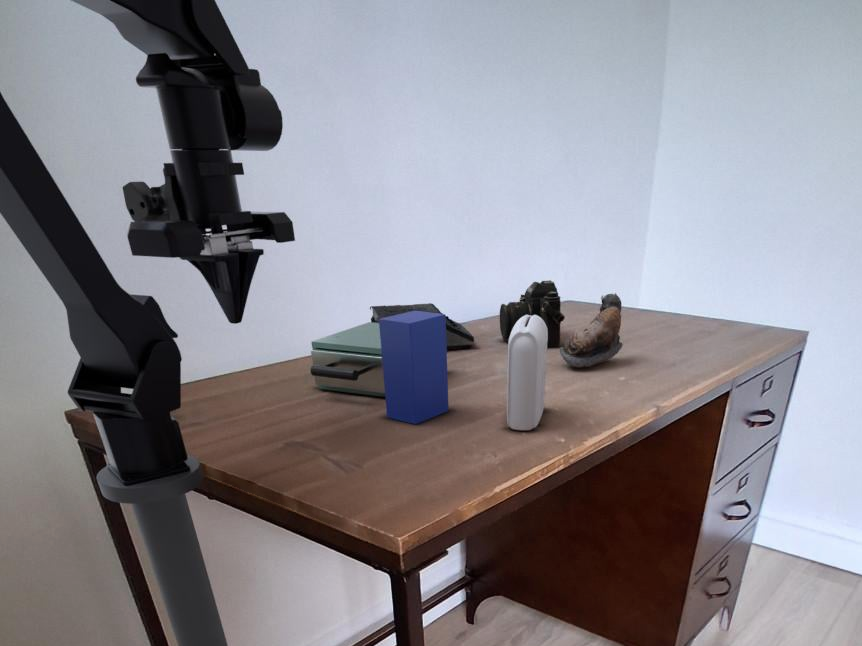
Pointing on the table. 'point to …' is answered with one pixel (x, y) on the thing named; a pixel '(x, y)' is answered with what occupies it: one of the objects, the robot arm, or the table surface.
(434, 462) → the table surface
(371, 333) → the cabinet
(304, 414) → the table surface
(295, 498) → the table surface
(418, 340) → the carton
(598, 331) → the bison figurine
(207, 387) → the table surface
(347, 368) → the drawer
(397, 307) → the electronic device
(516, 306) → the film camera
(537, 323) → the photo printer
